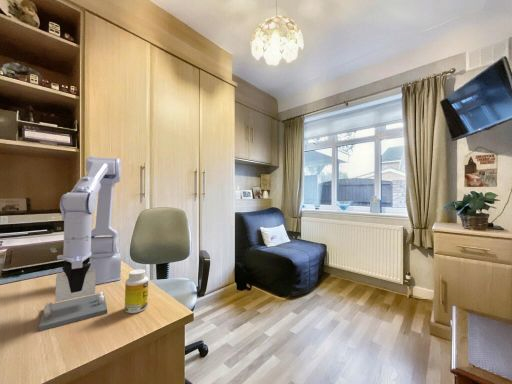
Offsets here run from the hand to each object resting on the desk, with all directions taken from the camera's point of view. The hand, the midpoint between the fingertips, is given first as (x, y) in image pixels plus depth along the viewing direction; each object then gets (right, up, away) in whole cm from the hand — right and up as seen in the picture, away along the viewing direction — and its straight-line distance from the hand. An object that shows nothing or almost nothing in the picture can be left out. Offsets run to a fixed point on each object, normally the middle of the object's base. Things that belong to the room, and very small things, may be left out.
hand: (76, 288), depth 59 cm
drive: (0, -2, 0) cm, 2 cm away
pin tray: (0, -6, 0) cm, 6 cm away
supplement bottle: (+15, -7, +2) cm, 16 cm away
